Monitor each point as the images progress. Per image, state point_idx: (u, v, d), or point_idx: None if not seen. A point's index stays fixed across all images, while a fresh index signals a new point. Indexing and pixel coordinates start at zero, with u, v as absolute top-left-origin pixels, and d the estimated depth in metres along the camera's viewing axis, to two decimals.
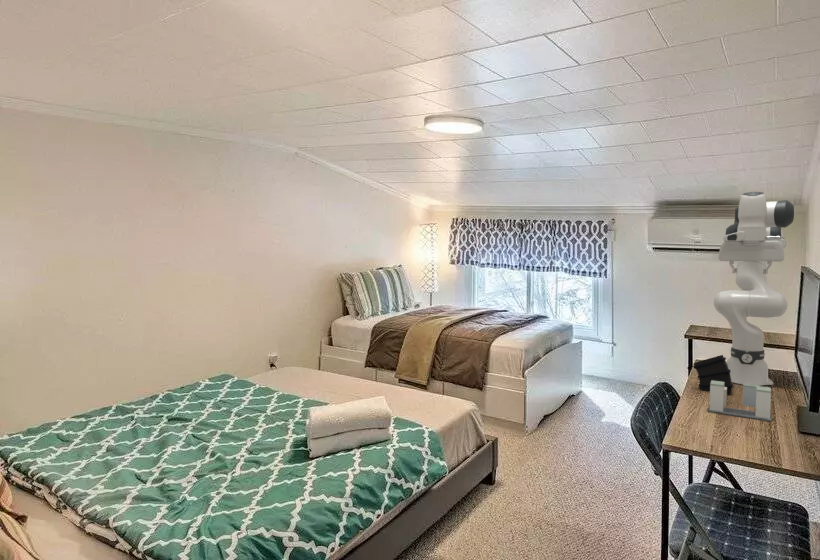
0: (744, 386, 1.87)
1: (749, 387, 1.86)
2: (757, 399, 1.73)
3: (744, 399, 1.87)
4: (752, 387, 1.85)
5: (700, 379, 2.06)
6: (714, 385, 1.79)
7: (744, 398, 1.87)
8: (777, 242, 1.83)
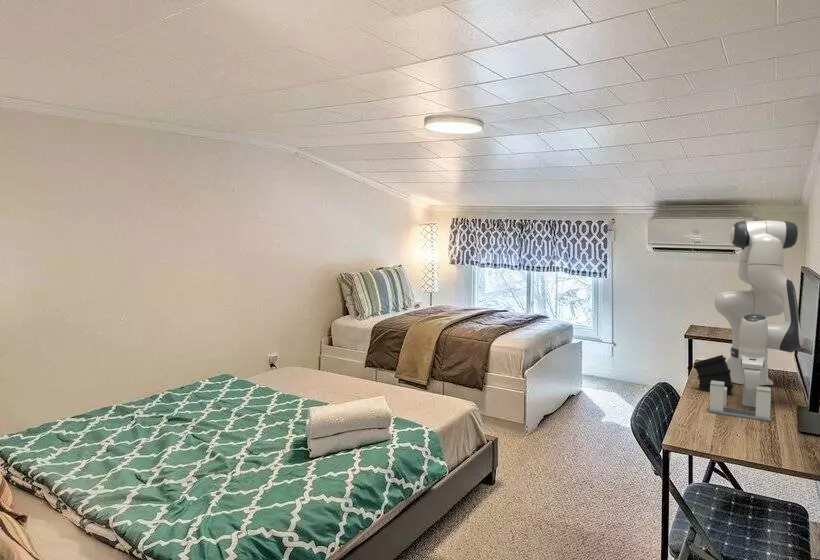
0: (744, 386, 1.87)
1: None
2: (757, 399, 1.73)
3: (744, 399, 1.87)
4: None
5: (700, 379, 2.06)
6: (714, 385, 1.79)
7: (744, 398, 1.87)
8: None
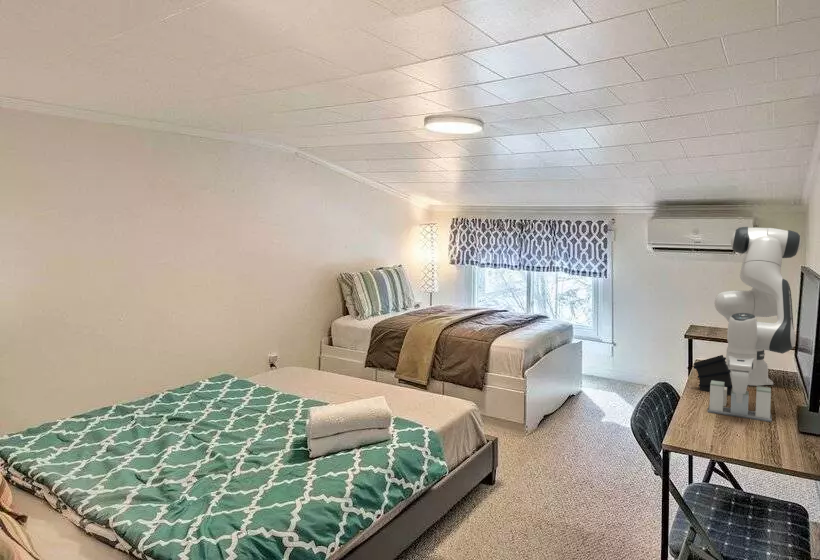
0: (732, 393, 1.77)
1: None
2: (757, 399, 1.73)
3: (732, 406, 1.77)
4: None
5: (700, 379, 2.06)
6: (714, 385, 1.79)
7: (732, 405, 1.77)
8: None
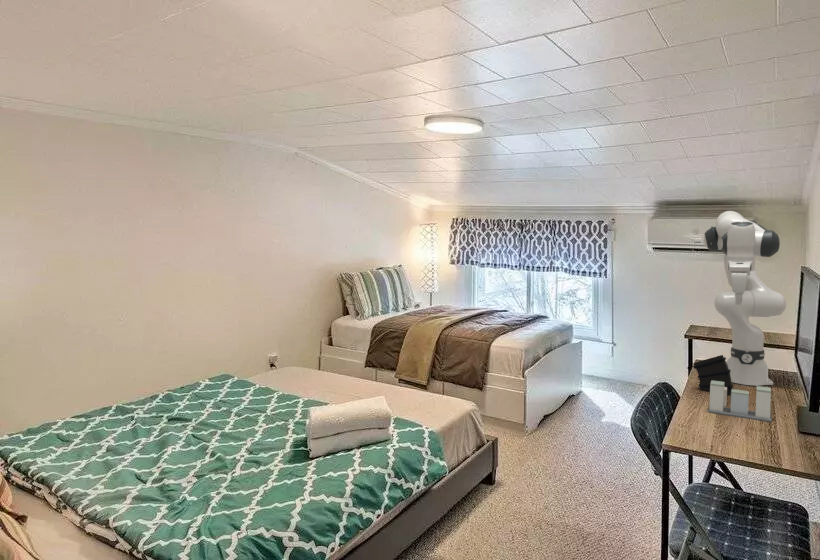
0: (732, 393, 1.77)
1: (737, 394, 1.76)
2: (757, 399, 1.73)
3: (732, 406, 1.77)
4: (741, 394, 1.76)
5: (700, 379, 2.06)
6: (714, 385, 1.79)
7: (732, 405, 1.77)
8: None
